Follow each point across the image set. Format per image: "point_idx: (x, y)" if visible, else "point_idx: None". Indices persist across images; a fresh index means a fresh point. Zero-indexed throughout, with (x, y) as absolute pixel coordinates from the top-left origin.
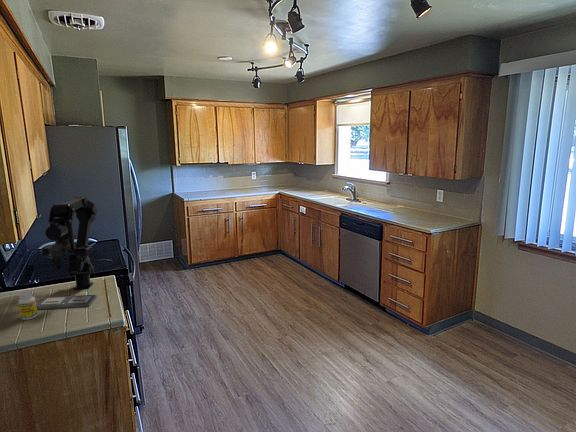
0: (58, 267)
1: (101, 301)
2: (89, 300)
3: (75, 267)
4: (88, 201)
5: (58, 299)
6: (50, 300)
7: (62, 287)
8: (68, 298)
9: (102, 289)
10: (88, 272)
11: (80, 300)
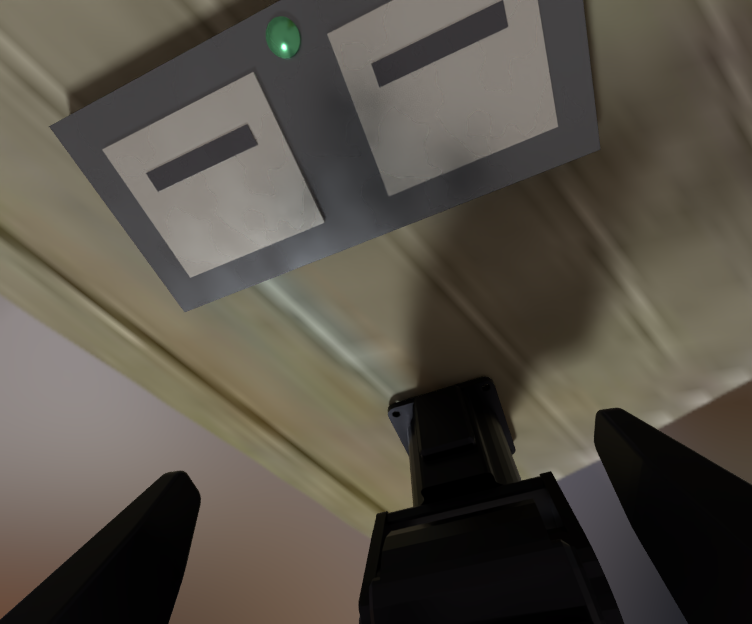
0: (633, 468)
1: (84, 246)
2: (120, 196)
3: (479, 565)
4: None
5: (416, 127)
6: (482, 78)
7: (599, 387)
8: (347, 185)
9: (282, 415)
10: (380, 531)
11: (179, 161)
